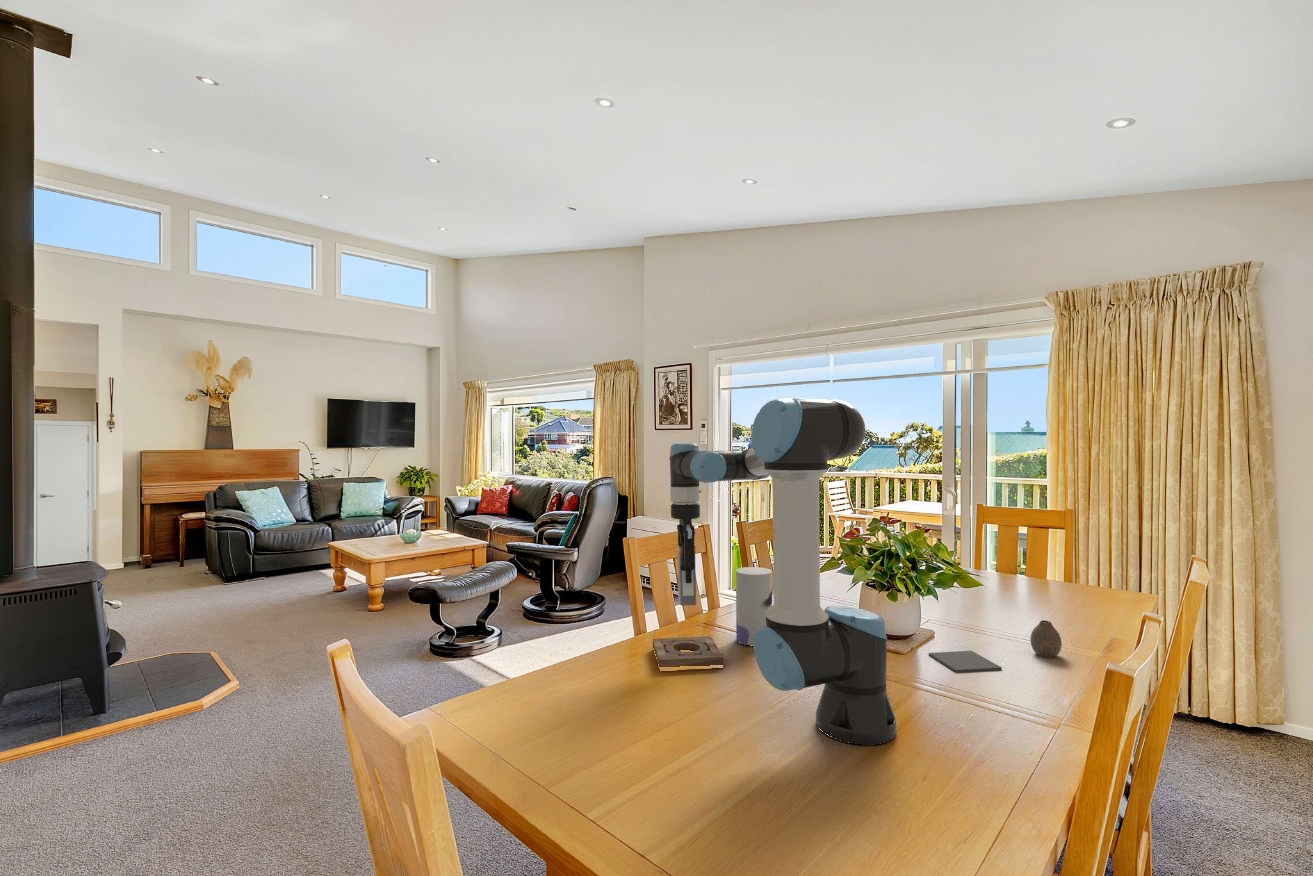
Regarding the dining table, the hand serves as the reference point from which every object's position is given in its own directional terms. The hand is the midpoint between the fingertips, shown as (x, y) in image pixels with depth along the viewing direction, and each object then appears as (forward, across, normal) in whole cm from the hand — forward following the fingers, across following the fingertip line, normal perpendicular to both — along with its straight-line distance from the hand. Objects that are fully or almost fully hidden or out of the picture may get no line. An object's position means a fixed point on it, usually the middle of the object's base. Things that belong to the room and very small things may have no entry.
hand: (686, 593), depth 162 cm
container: (+17, +12, -21) cm, 29 cm away
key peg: (+3, 0, 0) cm, 3 cm away
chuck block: (+17, +1, 0) cm, 17 cm away
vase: (+18, -9, -93) cm, 95 cm away
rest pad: (+18, -11, -69) cm, 72 cm away
